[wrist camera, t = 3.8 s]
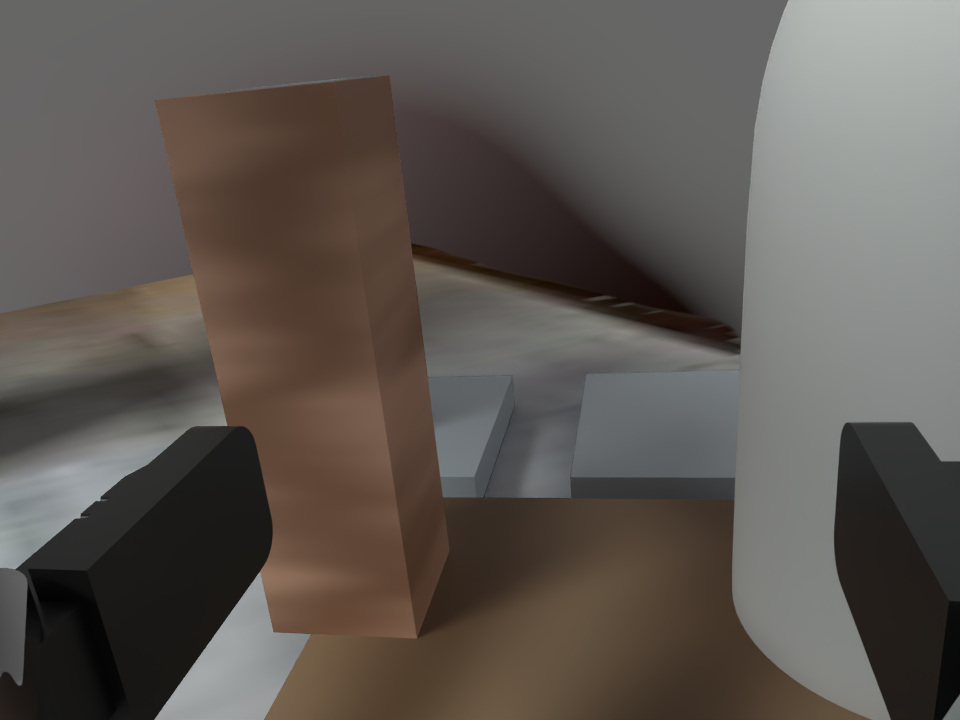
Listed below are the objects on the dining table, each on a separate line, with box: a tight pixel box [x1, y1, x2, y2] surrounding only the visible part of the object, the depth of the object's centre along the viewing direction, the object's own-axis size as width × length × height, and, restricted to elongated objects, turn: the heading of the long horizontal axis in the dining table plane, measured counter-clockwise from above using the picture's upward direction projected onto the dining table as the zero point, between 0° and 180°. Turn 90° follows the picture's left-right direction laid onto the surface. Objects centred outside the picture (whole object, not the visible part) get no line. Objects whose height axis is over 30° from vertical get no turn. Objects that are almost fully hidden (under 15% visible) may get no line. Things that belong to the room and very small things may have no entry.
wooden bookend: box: [155, 76, 872, 720], centre depth 17 cm, size 20×9×13 cm, turn 80°
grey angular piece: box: [229, 76, 740, 500], centre depth 27 cm, size 18×8×13 cm, turn 80°
